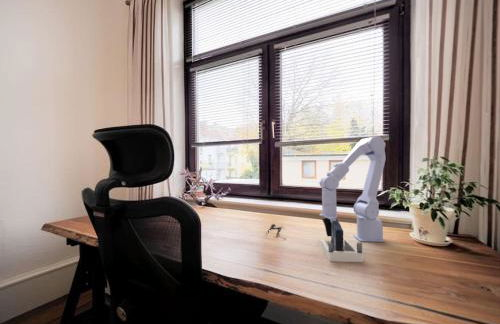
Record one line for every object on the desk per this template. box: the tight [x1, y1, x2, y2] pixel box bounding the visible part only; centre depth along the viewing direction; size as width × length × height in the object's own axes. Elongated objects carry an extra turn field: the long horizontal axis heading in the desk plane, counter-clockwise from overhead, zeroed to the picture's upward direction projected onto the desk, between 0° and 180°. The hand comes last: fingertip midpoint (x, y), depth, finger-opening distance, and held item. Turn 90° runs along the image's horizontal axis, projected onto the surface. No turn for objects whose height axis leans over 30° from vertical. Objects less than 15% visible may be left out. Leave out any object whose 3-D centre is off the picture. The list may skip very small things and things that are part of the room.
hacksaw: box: [265, 223, 287, 241], centre depth 111 cm, size 24×10×2 cm, turn 164°
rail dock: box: [320, 239, 363, 263], centre depth 83 cm, size 11×15×6 cm
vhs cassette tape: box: [330, 218, 344, 251], centre depth 86 cm, size 18×3×10 cm, turn 164°
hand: (329, 236), depth 98 cm, fingers closed
